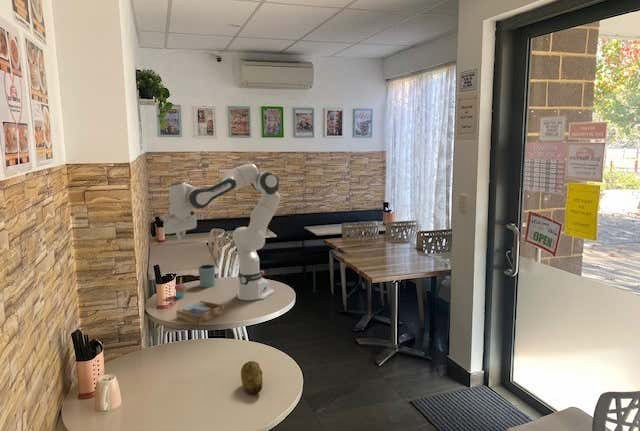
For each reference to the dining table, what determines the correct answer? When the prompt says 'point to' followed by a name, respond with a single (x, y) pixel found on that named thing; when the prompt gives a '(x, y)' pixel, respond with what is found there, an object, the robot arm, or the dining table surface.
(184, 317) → the corral
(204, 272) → the grey-blue cup
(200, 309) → the t block
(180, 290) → the cupcake
